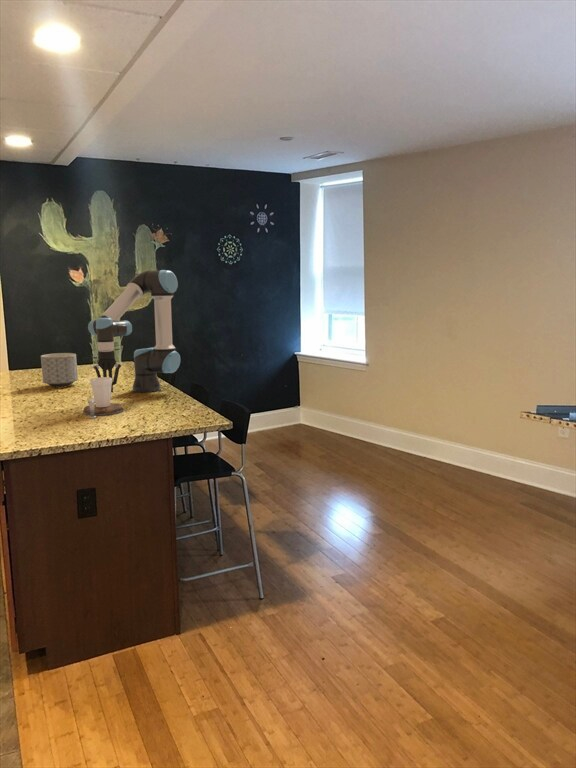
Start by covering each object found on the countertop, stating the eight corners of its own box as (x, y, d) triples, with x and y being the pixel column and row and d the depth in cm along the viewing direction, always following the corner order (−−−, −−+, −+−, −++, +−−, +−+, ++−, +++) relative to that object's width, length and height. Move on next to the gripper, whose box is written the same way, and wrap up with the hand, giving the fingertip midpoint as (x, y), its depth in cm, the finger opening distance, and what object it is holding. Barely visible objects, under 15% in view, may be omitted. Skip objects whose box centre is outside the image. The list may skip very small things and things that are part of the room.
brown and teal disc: (120, 403, 296) (119, 394, 296) (123, 411, 276) (123, 402, 276) (83, 405, 291) (83, 397, 290) (84, 415, 271) (83, 405, 270)
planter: (85, 384, 355) (83, 354, 352) (57, 390, 339) (55, 357, 336) (64, 382, 365) (61, 352, 362) (36, 387, 349) (33, 356, 346)
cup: (118, 405, 284) (116, 377, 282) (105, 409, 275) (103, 381, 273) (100, 404, 288) (98, 376, 285) (87, 408, 278) (85, 380, 276)
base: (122, 406, 293) (121, 404, 293) (124, 413, 276) (124, 412, 276) (82, 409, 287) (82, 407, 287) (83, 417, 270) (83, 415, 270)
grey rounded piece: (96, 416, 272) (95, 397, 271) (97, 418, 269) (95, 398, 267) (88, 417, 271) (87, 397, 269) (88, 418, 268) (87, 399, 266)
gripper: (118, 348, 295) (121, 396, 299) (90, 350, 289) (93, 399, 293) (121, 350, 288) (124, 399, 292) (93, 352, 282) (96, 402, 286)
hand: (109, 399), depth 292 cm, fingers closed
